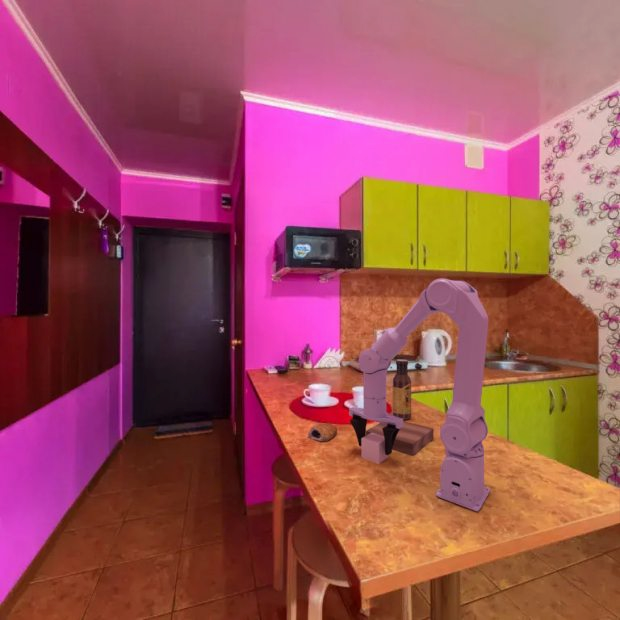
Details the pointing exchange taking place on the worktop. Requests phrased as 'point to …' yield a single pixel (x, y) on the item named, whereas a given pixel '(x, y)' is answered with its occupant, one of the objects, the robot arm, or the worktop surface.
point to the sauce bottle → (402, 391)
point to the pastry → (322, 432)
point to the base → (407, 437)
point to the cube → (373, 448)
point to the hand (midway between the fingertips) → (374, 449)
